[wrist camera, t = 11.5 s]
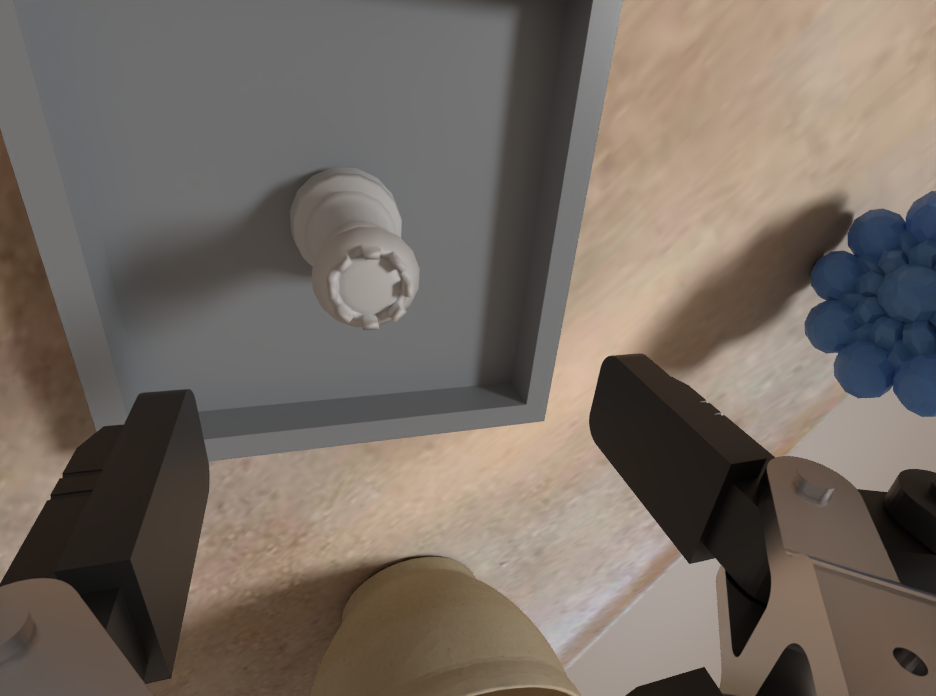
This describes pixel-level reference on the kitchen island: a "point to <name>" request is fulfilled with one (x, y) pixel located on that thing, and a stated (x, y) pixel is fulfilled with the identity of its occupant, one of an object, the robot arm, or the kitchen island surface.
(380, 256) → the rook chess piece
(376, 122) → the tray
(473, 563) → the kitchen island surface
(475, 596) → the planter bowl
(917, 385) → the grapes
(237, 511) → the kitchen island surface
